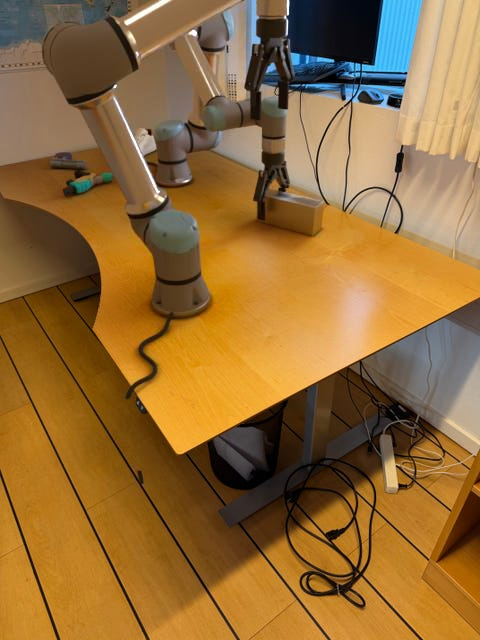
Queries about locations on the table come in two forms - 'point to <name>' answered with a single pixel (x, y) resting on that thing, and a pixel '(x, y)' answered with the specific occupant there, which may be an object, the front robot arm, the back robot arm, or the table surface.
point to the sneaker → (145, 140)
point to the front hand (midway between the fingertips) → (269, 114)
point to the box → (293, 212)
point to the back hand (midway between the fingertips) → (271, 212)
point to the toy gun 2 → (85, 181)
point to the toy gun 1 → (66, 161)
